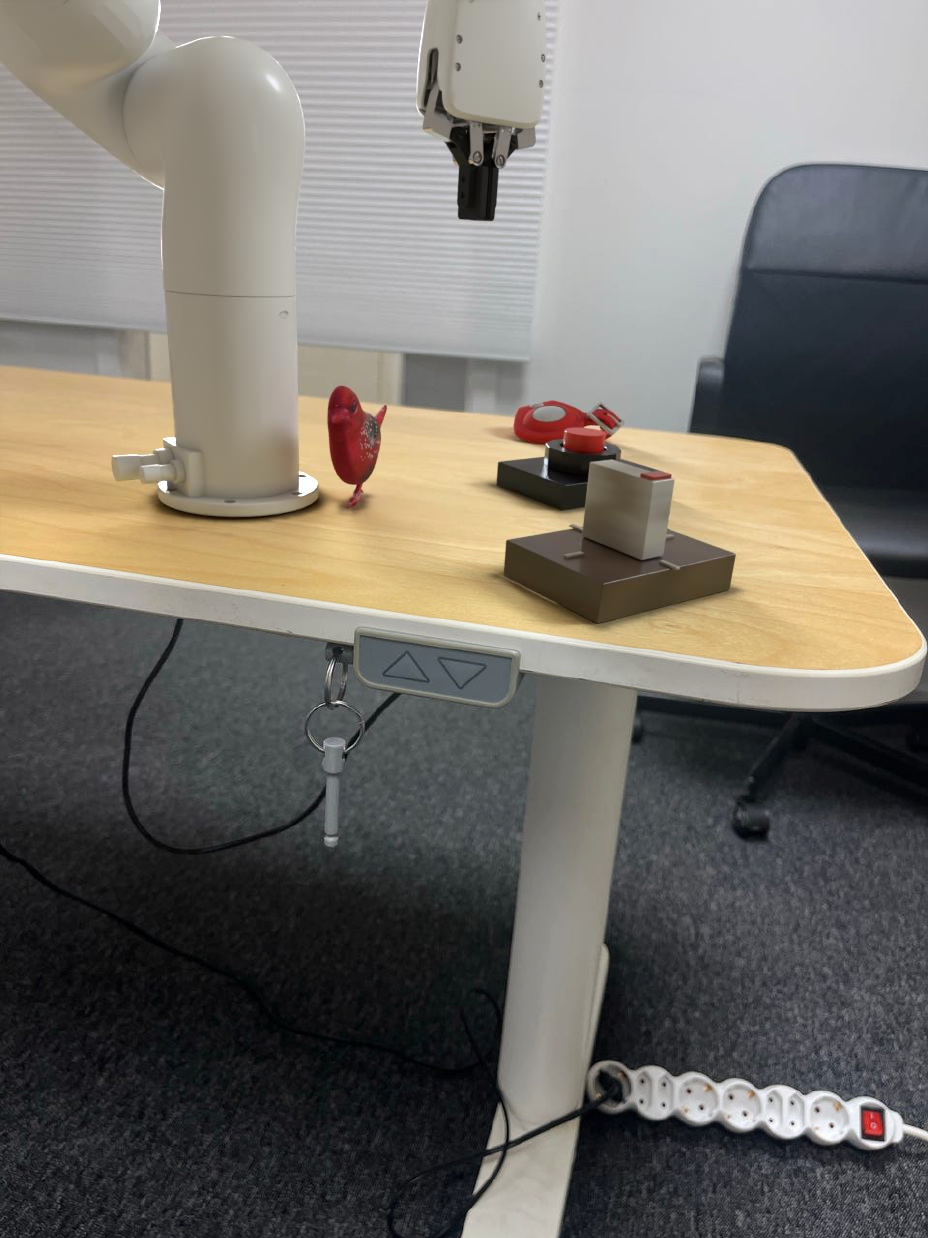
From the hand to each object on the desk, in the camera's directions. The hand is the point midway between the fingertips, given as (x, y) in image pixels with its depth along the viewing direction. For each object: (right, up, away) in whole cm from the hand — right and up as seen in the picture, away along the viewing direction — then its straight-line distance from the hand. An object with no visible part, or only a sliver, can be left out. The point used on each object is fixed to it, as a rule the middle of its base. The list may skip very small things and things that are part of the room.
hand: (475, 219), depth 76 cm
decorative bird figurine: (-10, -24, -1) cm, 26 cm away
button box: (+9, -22, +5) cm, 25 cm away
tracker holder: (+10, -14, +26) cm, 31 cm away
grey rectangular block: (+9, -29, -18) cm, 36 cm away
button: (+10, -19, +3) cm, 22 cm away
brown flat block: (+9, -32, -17) cm, 37 cm away
